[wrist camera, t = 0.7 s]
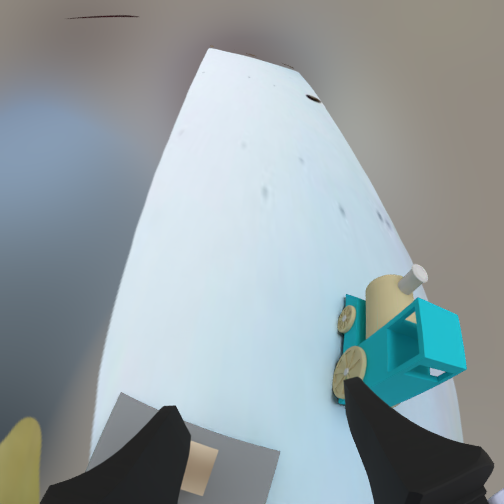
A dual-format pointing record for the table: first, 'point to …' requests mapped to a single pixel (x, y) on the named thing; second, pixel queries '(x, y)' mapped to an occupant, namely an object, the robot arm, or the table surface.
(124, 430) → the slate mat
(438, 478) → the robot arm
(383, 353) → the toy train
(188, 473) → the maple block
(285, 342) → the table surface
